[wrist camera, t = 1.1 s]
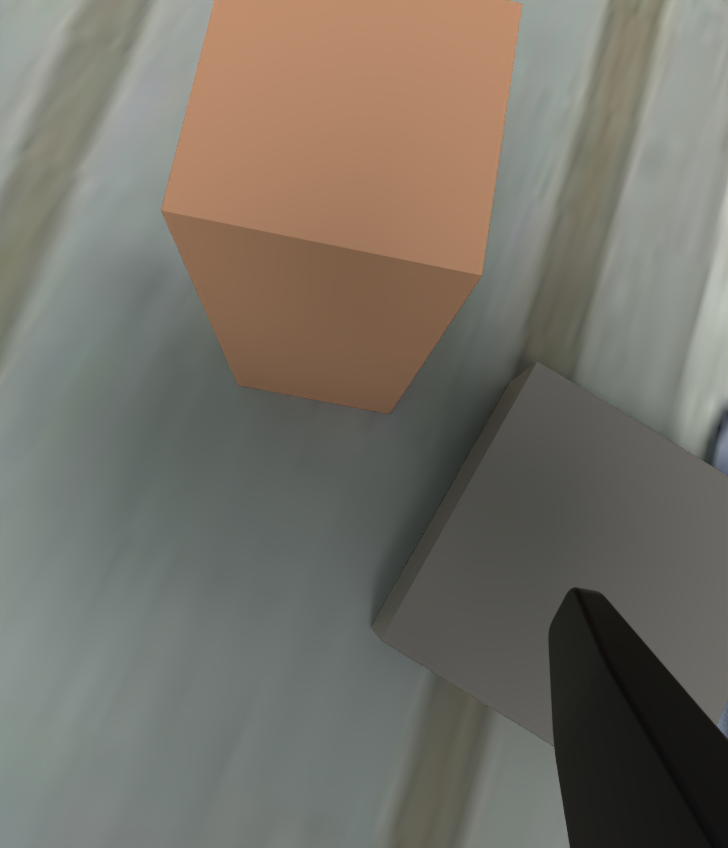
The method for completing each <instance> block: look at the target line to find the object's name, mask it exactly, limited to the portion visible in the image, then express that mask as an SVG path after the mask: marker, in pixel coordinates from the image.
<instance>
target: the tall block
mask: <svg viewBox="0 0 728 848" xmlns="http://www.w3.org/2000/svg"><path fill="white" fill-rule="evenodd" d="M521 10H522V4H521V3H517V2H513V1H508V0H214V4H213V8H212V12H211V16H210V20H209V24H208V28H207V32H206V36H205V40H204V43H203V47H202V51H201V55H200V59H199V63H198V67H197V71H196V75H195V79H194V83H193V87H192V91H191V94H190V98H189V102H188V106H187V110H186V114H185V118H184V122H183V126H182V130H181V134H180V138H179V142H178V146H177V149H176V153H175V157H174V161H173V165H172V169H171V173H170V177H169V181H168V185H167V189H166V193H165V197H164V201H163V204H162V208H161V212H162V214H163V216H164V218H165V221H166V223H167V225H168V227H169V230H170V232H171V234H172V236H173V239H174V241H175V243H176V246H177V248H178V250H179V252H180V255H181V257H182V259H183V261H184V264H185V266H186V268H187V271H188V273H189V275H190V277H191V280H192V282H193V284H194V286H195V289H196V291H197V293H198V296H199V298H200V300H201V302H202V305H203V307H204V309H205V311H206V314H207V316H208V318H209V321H210V323H211V325H212V327H213V330H214V332H215V334H216V336H217V339H218V341H219V343H220V346H221V348H222V350H223V352H224V355H225V357H226V359H227V361H228V364H229V366H230V368H231V371H232V373H233V375H234V377H235V380H236V382H237V384H238V386H244V387H249V388H254V389H259V390H265V391H270V392H275V393H281V394H286V395H291V396H296V397H302V398H307V399H312V400H317V401H323V402H328V403H333V404H339V405H344V406H349V407H354V408H360V409H365V410H370V411H375V412H381V413H386V414H390V413H391V411H392V410H393V408H394V407H395V405H396V404H397V402H398V401H399V399H400V398H401V396H402V395H403V393H404V392H405V390H406V389H407V387H408V386H409V384H410V383H411V381H412V380H413V378H414V377H415V375H416V374H417V372H418V371H419V369H420V368H421V366H422V365H423V363H424V362H425V360H426V359H427V357H428V356H429V354H430V353H431V351H432V350H433V348H434V347H435V345H436V344H437V342H438V341H439V339H440V338H441V336H442V335H443V333H444V332H445V330H446V329H447V327H448V326H449V324H450V323H451V321H452V320H453V318H454V317H455V315H456V314H457V312H458V311H459V309H460V308H461V306H462V305H463V303H464V302H465V300H466V299H467V297H468V296H469V294H470V293H471V291H472V290H473V288H474V287H475V285H476V284H477V282H478V281H479V279H480V278H481V276H482V272H483V265H484V259H485V252H486V245H487V238H488V232H489V225H490V218H491V212H492V205H493V198H494V191H495V185H496V178H497V171H498V165H499V158H500V151H501V144H502V138H503V131H504V124H505V118H506V111H507V104H508V97H509V91H510V84H511V77H512V71H513V64H514V57H515V51H516V44H517V37H518V30H519V24H520V17H521Z"/></svg>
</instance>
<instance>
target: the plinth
mask: <svg viewBox="0 0 728 848" xmlns="http://www.w3.org/2000/svg"><path fill="white" fill-rule="evenodd" d="M573 587H579V588H584V589H590V590H595V591H599V592H601V593H602V594H603V595H604V596H605V597H606V598H607V599H608V600H609V601H610V603H611V604H612V605H613V606H614V607H615V608H616V610H617V611H618V612H619V613H620V614H621V615H622V617H623V618H624V619H625V620H626V621H627V622H628V624H629V625H630V626H631V627H632V628H633V629H634V630H635V632H636V633H637V634H638V635H639V636H640V637H641V639H642V640H643V641H644V642H645V643H646V644H647V646H648V647H649V648H650V649H651V650H652V651H653V653H654V654H655V655H656V656H657V657H658V658H659V660H660V661H661V662H662V663H663V664H664V665H665V667H666V668H667V669H668V670H669V671H670V672H671V674H672V675H673V676H674V677H675V678H676V679H677V681H678V682H679V683H680V684H681V685H682V686H683V688H684V689H685V690H686V691H687V692H688V693H689V695H690V696H691V697H692V698H693V699H694V700H695V702H696V703H697V704H698V705H699V706H700V707H701V709H702V710H703V711H704V712H705V713H706V714H707V716H708V717H709V718H710V719H711V720H712V721H713V723H714V724H715V725H716V726H717V724H718V722H719V719H720V717H721V715H722V712H723V710H724V708H725V706H726V703H727V701H728V476H727V475H726V474H724V473H722V472H721V471H719V470H717V469H716V468H714V467H713V466H711V465H709V464H708V463H706V462H704V461H703V460H701V459H699V458H698V457H696V456H694V455H693V454H691V453H689V452H688V451H686V450H684V449H683V448H681V447H679V446H678V445H676V444H674V443H673V442H671V441H669V440H668V439H666V438H664V437H663V436H661V435H659V434H658V433H656V432H654V431H653V430H651V429H649V428H648V427H646V426H644V425H643V424H641V423H639V422H638V421H636V420H635V419H633V418H631V417H630V416H628V415H626V414H625V413H623V412H621V411H620V410H618V409H616V408H615V407H613V406H611V405H610V404H608V403H606V402H605V401H603V400H601V399H600V398H598V397H596V396H595V395H593V394H591V393H590V392H588V391H586V390H585V389H583V388H581V387H580V386H578V385H576V384H575V383H573V382H571V381H570V380H568V379H566V378H565V377H563V376H561V375H560V374H558V373H556V372H555V371H553V370H552V369H550V368H548V367H547V366H545V365H543V364H542V363H540V362H538V361H537V362H536V363H535V364H533V365H532V366H531V367H529V368H528V369H527V370H526V371H524V372H523V373H522V374H520V375H519V376H518V377H516V378H515V379H514V380H513V381H511V382H510V383H509V384H508V386H507V388H506V390H505V391H504V393H503V395H502V397H501V398H500V400H499V402H498V404H497V405H496V407H495V409H494V411H493V412H492V414H491V416H490V418H489V420H488V421H487V423H486V425H485V427H484V428H483V430H482V432H481V434H480V435H479V437H478V439H477V441H476V442H475V444H474V446H473V448H472V449H471V451H470V453H469V455H468V456H467V458H466V460H465V462H464V464H463V465H462V467H461V469H460V471H459V472H458V474H457V476H456V478H455V479H454V481H453V483H452V485H451V486H450V488H449V490H448V492H447V493H446V495H445V497H444V499H443V500H442V502H441V504H440V506H439V508H438V509H437V511H436V513H435V515H434V516H433V518H432V520H431V522H430V523H429V525H428V527H427V529H426V530H425V532H424V534H423V536H422V537H421V539H420V541H419V543H418V544H417V546H416V548H415V550H414V551H413V553H412V555H411V557H410V559H409V560H408V562H407V564H406V566H405V567H404V569H403V571H402V573H401V574H400V576H399V578H398V580H397V581H396V583H395V585H394V587H393V588H392V590H391V592H390V594H389V595H388V597H387V599H386V601H385V603H384V604H383V606H382V608H381V610H380V611H379V613H378V615H377V617H376V618H375V620H374V622H373V624H372V625H371V628H372V629H373V630H374V632H375V633H376V634H377V636H378V637H379V639H380V640H381V641H383V642H385V643H386V644H388V645H389V646H391V647H393V648H394V649H396V650H398V651H399V652H401V653H402V654H404V655H406V656H407V657H409V658H411V659H412V660H414V661H416V662H417V663H419V664H420V665H422V666H424V667H425V668H427V669H429V670H430V671H432V672H433V673H435V674H437V675H438V676H440V677H442V678H443V679H445V680H446V681H448V682H450V683H451V684H453V685H455V686H456V687H458V688H460V689H461V690H463V691H464V692H466V693H468V694H469V695H471V696H473V697H474V698H476V699H477V700H479V701H481V702H482V703H484V704H486V705H487V706H489V707H490V708H492V709H494V710H495V711H497V712H499V713H500V714H502V715H503V716H505V717H507V718H508V719H510V720H512V721H513V722H515V723H517V724H518V725H520V726H521V727H523V728H525V729H526V730H528V731H530V732H531V733H533V734H534V735H536V736H538V737H539V738H541V739H543V740H544V741H546V742H547V743H549V744H551V745H552V746H554V741H553V727H552V708H551V688H550V668H549V647H548V632H549V627H550V624H551V622H552V620H553V618H554V616H555V614H556V612H557V610H558V608H559V607H560V605H561V603H562V601H563V599H564V597H565V595H566V594H567V592H568V591H569V590H570V589H571V588H573Z"/></svg>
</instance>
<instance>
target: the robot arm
mask: <svg viewBox="0 0 728 848" xmlns="http://www.w3.org/2000/svg"><path fill="white" fill-rule="evenodd" d="M548 647H549V668H550V688H551V708H552V727H553V741H554V749H555V756H556V763H557V770H558V776H559V782H560V788H561V795H562V801H563V807H564V813H565V820H566V826H567V832H568V838H569V845H570V848H728V739H727V738H726V736H725V735H724V734H723V733H722V732H721V731H720V730H719V728H718V727H717V726H716V725H715V724H714V723H713V721H712V720H711V719H710V718H709V717H708V716H707V714H706V713H705V712H704V711H703V710H702V709H701V707H700V706H699V705H698V704H697V703H696V702H695V700H694V699H693V698H692V697H691V696H690V695H689V693H688V692H687V691H686V690H685V689H684V688H683V686H682V685H681V684H680V683H679V682H678V681H677V679H676V678H675V677H674V676H673V675H672V674H671V672H670V671H669V670H668V669H667V668H666V667H665V665H664V664H663V663H662V662H661V661H660V660H659V658H658V657H657V656H656V655H655V654H654V653H653V651H652V650H651V649H650V648H649V647H648V646H647V644H646V643H645V642H644V641H643V640H642V639H641V637H640V636H639V635H638V634H637V633H636V632H635V630H634V629H633V628H632V627H631V626H630V625H629V624H628V622H627V621H626V620H625V619H624V618H623V617H622V615H621V614H620V613H619V612H618V611H617V610H616V608H615V607H614V606H613V605H612V604H611V603H610V601H609V600H608V599H607V598H606V597H605V596H604V595H603V594H602V593H601V592H599V591H595V590H590V589H584V588H579V587H573V588H571V589H570V590H569V591H568V592H567V594H566V595H565V597H564V599H563V601H562V603H561V605H560V607H559V608H558V610H557V612H556V614H555V616H554V618H553V620H552V622H551V624H550V627H549V632H548Z"/></svg>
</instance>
